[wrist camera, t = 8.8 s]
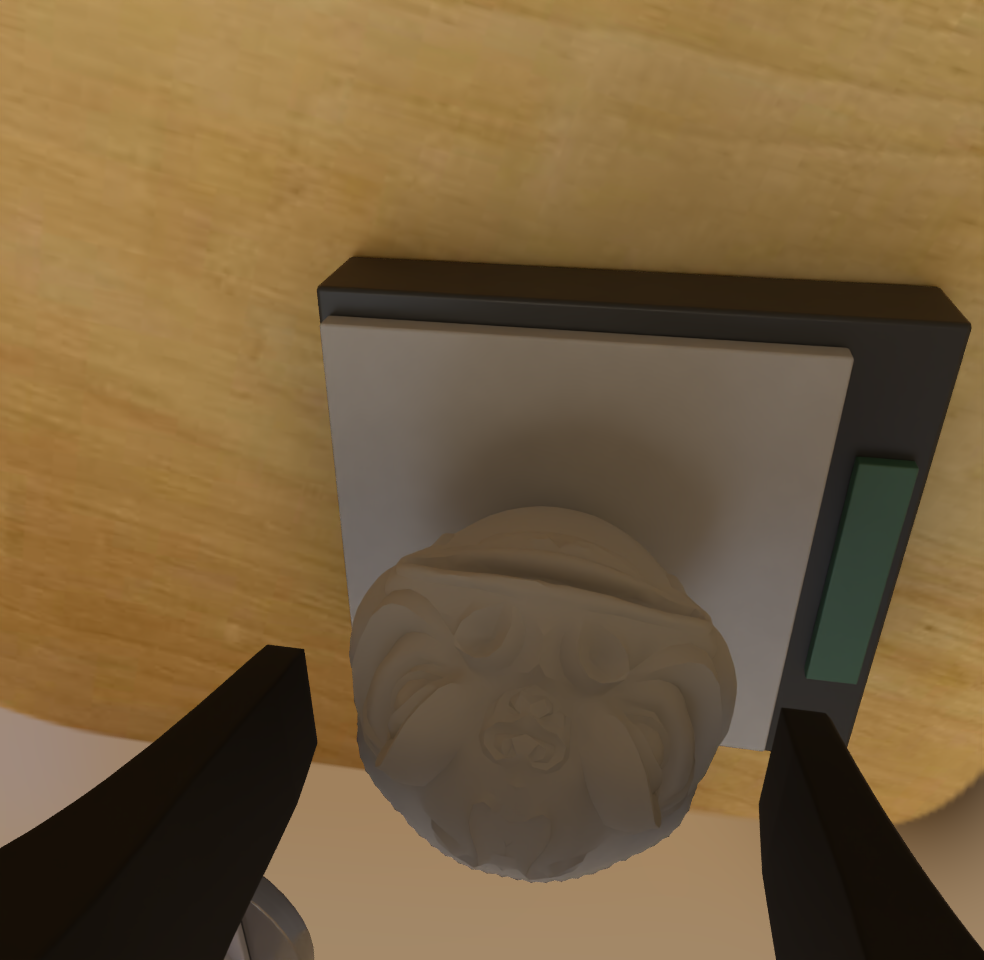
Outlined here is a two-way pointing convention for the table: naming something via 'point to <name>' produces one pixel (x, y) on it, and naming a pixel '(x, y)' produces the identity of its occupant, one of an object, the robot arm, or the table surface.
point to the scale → (655, 439)
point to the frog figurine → (538, 694)
